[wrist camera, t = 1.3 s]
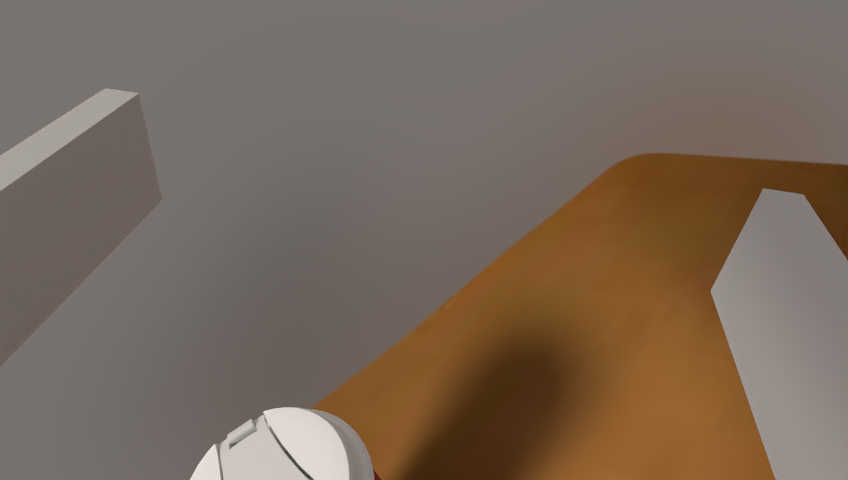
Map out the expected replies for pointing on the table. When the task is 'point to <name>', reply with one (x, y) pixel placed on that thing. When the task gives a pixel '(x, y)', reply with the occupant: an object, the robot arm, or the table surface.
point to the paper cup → (289, 450)
